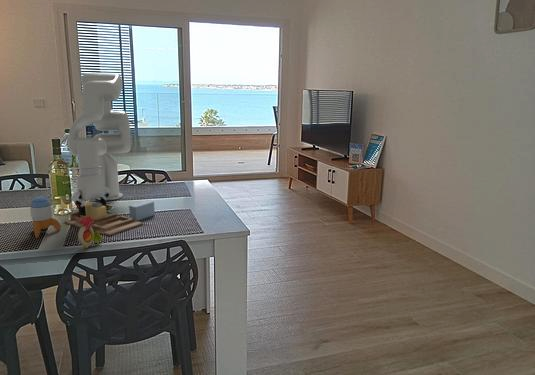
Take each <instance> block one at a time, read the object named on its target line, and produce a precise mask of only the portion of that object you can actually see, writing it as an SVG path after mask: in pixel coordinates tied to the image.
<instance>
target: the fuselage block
mask: <svg viewBox="0 0 535 375" xmlns="http://www.w3.org/2000/svg"><path fill="white" fill-rule="evenodd" d="M84 206H85V210H86V216H82V215H80V218H83V217H84V218H87V217H89V216H91V218H92V219H94V220H95V219H98V218H102V217H105V216H107V214H108V213H107V205H106V206H102V203H100V202H98V201H96V202H89V201H86V202H85V204H84Z"/></svg>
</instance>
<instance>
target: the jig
mask: <svg viewBox="0 0 535 375" xmlns="http://www.w3.org/2000/svg"><path fill="white" fill-rule="evenodd" d="M80 219H82V218H80V214H79V210H78V211H75V212H71V213H70V219H66V220H63V223H64V224H66V225H71V226H73V227H77V228H79V229H80V228H81V227H82V226H83V224H80V223H79V220H80ZM140 225H141V226H143V225H144V222H141V221H139V220H138V221H135V220H134V219H133V218H130V216H129V217H127V216H125V215H124V214H121V215H117V213H112V214H110V213H107V216H105V217H102V218H98V219H95V220H94V221H93V222H92V223H91V224H90V227H92V229H93V231H98V232H99V234H101V233H102V234H101V235H104V234H105V235H106V236H108V237H112V236H114V234H115V235H117V233H118V234H119V233H120V232H121V233H123V232H126V231H129V230H132V229H134V227H135V228H138V227H141V226H140ZM137 226H138V227H137ZM105 235H104V236H105ZM111 235H112V236H111Z"/></svg>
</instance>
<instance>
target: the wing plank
mask: <svg viewBox="0 0 535 375" xmlns="http://www.w3.org/2000/svg"><path fill="white" fill-rule="evenodd" d="M128 209H129V218H133V219H134V221H138V222H139V221H140V220H143V219H146V218H149V217H153V216H155V214H156V213H155V202H154V201H151V200H143V201H141V202H137V203H134V204H131V205H130V204H129V205H128Z"/></svg>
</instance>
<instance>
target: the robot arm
mask: <svg viewBox="0 0 535 375" xmlns="http://www.w3.org/2000/svg"><path fill="white" fill-rule="evenodd" d="M80 81H81V85H82V93H81V94H82V95H81V96H82V97H81V114H80V115H79V116H78V117H77V118H76V119H75V120H74V121H73V122H72V124H71V126H70V128H69V131H68V151H69V154H71V155H72V156H75V157H77V160H78V171H79V172H78V173H79V175H77V178H76V192H75V193H74V194H73V195H72V196H71V198H70V199H71V200H72V202H73V203H74V204H75V205H76V206H78V211H79V214H80V215H82V216H86V210H85V206H84V204H85V202H89V201H93V200H99V203H102V206H106V207H107V201H114V200H119V199H121V198H123V192H120V185H119V184H120V183H119V171H118V170H119V169H118V161H117V159H116V158H115V157H114V156H113V155H112V154H127V153H129V152H130V151H131V149H132V142H131V141H132V140H131V126H130V118H129V115H128V113H127V112H126V111H124V110H113V108H112V102H115V101H117V100H119V98H120V95H121V93H122V90H123V84H124V83H123V79H122V77H121V76H120V75H119V74H117V73H100V72H99V73H95V72H93V73H85V74H83V75H82V76H81V78H80ZM92 124H93V125H94V128H95V129H96V130H97V131H102V132H107V131H108V133H97V134H95V135H94V136H93V137H78V136H79V133H80V132H81V131H82V130H83V129H84V128H86V127H87V126H90V125H92ZM112 131H113V132H115V131H116V132H117V133H110V132H112Z"/></svg>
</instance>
